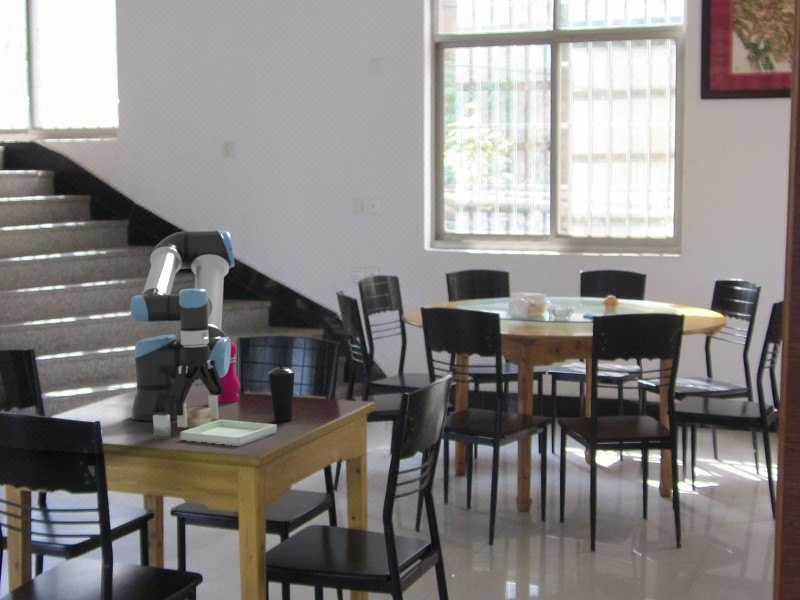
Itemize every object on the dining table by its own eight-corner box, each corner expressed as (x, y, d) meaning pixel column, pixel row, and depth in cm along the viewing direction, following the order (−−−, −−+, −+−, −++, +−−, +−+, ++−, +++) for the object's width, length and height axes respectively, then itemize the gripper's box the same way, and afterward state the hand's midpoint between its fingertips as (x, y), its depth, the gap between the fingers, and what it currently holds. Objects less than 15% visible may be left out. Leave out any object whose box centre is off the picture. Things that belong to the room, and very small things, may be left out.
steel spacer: (150, 438, 284) (149, 416, 284) (161, 435, 288) (160, 413, 288) (163, 440, 282) (162, 417, 282) (174, 436, 286) (173, 414, 286)
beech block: (185, 428, 298) (184, 409, 297) (197, 424, 302) (196, 406, 301) (200, 429, 295) (199, 411, 295) (211, 425, 300) (211, 407, 299)
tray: (180, 440, 281) (179, 431, 281) (220, 427, 296) (220, 419, 296) (238, 446, 273) (238, 437, 272) (277, 432, 288) (277, 424, 287)
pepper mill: (221, 398, 341) (218, 335, 339) (243, 398, 340) (241, 334, 338) (214, 402, 334) (211, 338, 332) (236, 402, 333) (234, 337, 331)
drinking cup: (271, 417, 309) (269, 347, 307) (298, 416, 308) (296, 346, 306) (267, 422, 301) (264, 351, 299) (295, 422, 301) (292, 350, 299)
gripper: (176, 351, 284) (179, 431, 285) (234, 340, 306) (236, 415, 307) (153, 350, 287) (157, 429, 289) (212, 339, 309) (215, 413, 311)
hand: (198, 422), depth 298 cm, fingers open, 13 cm apart
